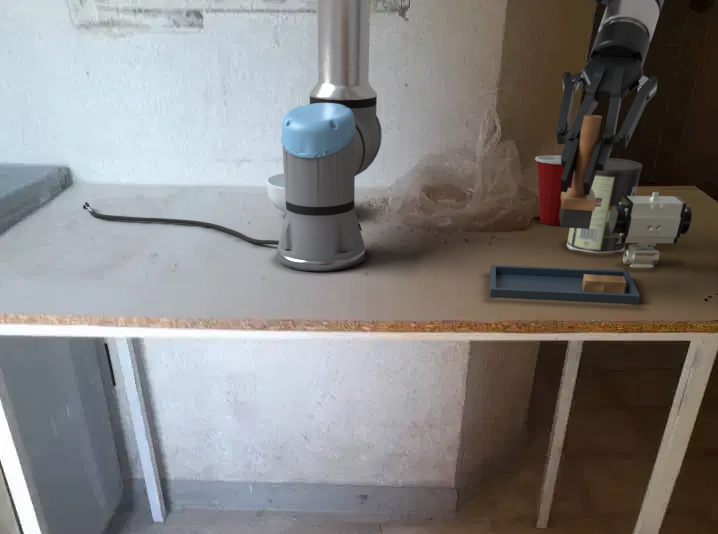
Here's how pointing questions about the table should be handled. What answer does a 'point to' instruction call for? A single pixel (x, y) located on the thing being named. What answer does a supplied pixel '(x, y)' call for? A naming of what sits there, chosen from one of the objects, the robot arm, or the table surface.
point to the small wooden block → (614, 284)
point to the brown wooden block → (593, 283)
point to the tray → (555, 284)
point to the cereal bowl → (277, 191)
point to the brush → (581, 180)
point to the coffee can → (606, 206)
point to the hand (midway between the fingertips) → (574, 187)
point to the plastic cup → (550, 188)
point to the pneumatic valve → (648, 225)
